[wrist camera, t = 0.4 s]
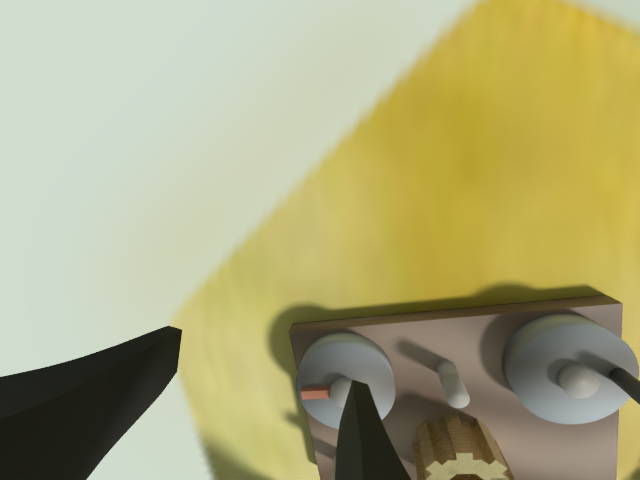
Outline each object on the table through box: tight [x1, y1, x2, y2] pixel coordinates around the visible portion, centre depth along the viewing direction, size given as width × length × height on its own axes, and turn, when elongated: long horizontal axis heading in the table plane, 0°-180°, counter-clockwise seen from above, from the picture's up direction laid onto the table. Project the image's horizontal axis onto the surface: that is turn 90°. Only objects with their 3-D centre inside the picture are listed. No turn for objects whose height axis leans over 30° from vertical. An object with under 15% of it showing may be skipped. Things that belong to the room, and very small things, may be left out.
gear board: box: [289, 295, 640, 480], centre depth 19 cm, size 13×20×5 cm, turn 100°
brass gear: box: [412, 413, 515, 480], centre depth 20 cm, size 6×6×3 cm
